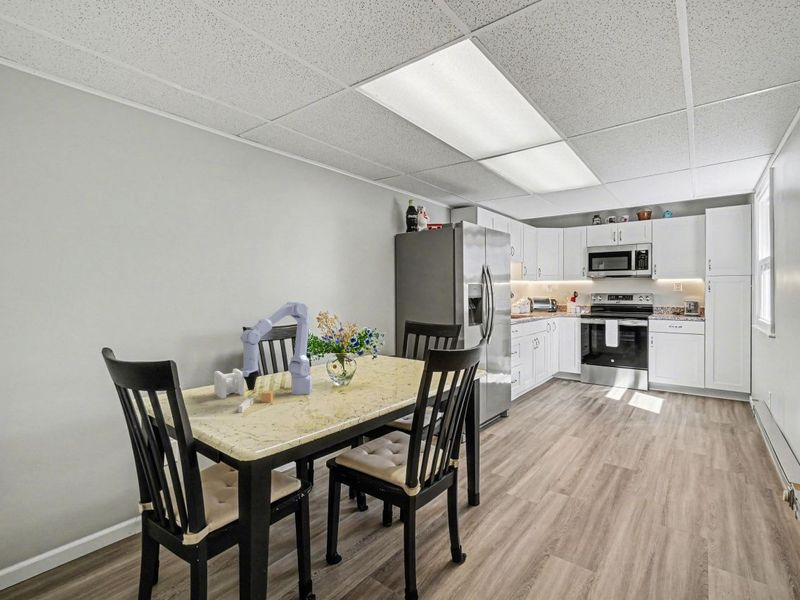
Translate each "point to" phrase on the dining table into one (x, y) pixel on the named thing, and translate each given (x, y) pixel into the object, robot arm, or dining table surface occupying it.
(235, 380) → the cable organizer
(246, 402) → the bar
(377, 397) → the dining table surface
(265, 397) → the plug block
